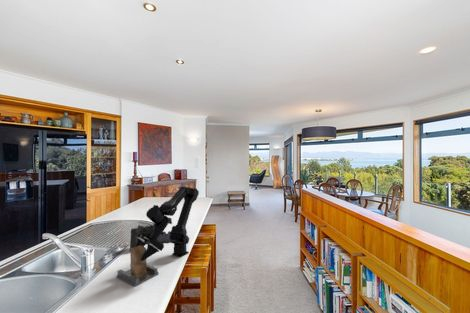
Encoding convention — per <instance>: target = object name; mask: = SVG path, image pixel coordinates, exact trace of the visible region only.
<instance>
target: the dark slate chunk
mask: <svg viewBox="0 0 470 313" xmlns="http://www.w3.org/2000/svg"><path fill="white" fill-rule="evenodd" d="M170 232H171V230H169V231H168V232H166V231H163V233H164V234H163V235H160V236H159V238H158V239H157V240H158V241H160V242H161V243H163V244H172V243H171V240H170ZM144 243H146V242H144ZM147 243H148V244H150V243H149V242H147ZM147 243H146V245H147ZM150 245H151V244H150Z"/></svg>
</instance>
